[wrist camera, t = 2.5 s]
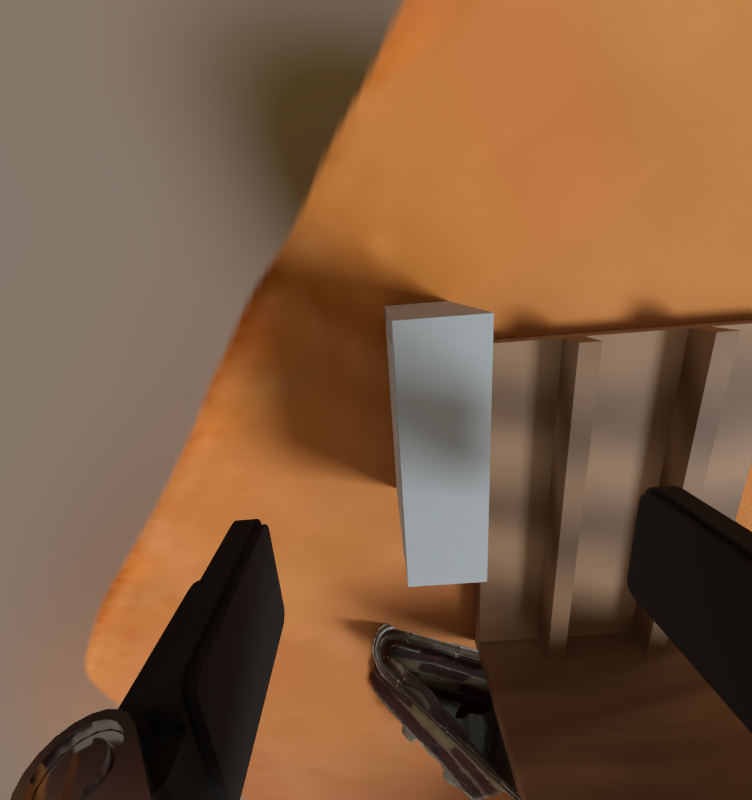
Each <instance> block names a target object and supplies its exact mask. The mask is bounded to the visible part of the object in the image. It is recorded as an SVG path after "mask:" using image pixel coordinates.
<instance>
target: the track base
mask: <svg viewBox="0 0 752 800" xmlns="http://www.w3.org/2000/svg"><path fill="white" fill-rule="evenodd" d="M751 461H752V319H751V320H738V321H725V322H712V323H699V324H687V325H674V326H661V327H648V328H635V329H622V330H609V331H596V332H583V333H570V334H557V335H544V336H531V337H519V338H506V339H493V368H492V408H491V447H490V487H489V526H488V566H487V582H476V604H475V643H476V646H477V650H478V653H479V657H480V660H481V664H482V667H483V671H484V675H485V678H486V682H487V685H488V689H489V692H490V696H491V699H492V703H493V706H494V710H495V713H496V717H497V720H498V724H499V727H500V731H501V734H502V738H503V741H504V745H505V749H506V752H507V756H508V759H509V763H510V766H511V770H512V773H513V777H514V780H515V784H516V787H517V791H518V794H519V798H520V800H752V733H751V732H750V731H749V730H748V729H747V728H746V727H745V725H744V724H743V723H742V722H741V721H740V720H739V718H738V717H737V716H736V715H735V714H734V713H733V712H732V710H731V709H730V708H729V707H728V706H727V705H726V703H725V702H724V701H723V700H722V699H721V698H720V697H719V695H718V694H717V693H716V692H715V691H714V690H713V689H712V687H711V686H710V685H709V684H708V683H707V682H706V680H705V679H704V678H703V677H702V676H701V675H700V674H699V672H698V671H697V670H696V669H695V668H694V667H693V665H692V664H691V663H690V662H689V661H688V660H687V659H686V657H685V656H684V655H683V654H682V653H681V652H680V650H679V649H678V648H677V647H676V646H675V645H674V644H673V642H672V641H671V640H670V639H669V638H668V637H667V635H666V634H665V633H664V632H663V631H662V630H661V629H660V627H659V626H658V625H657V624H656V623H655V622H654V621H653V619H652V618H651V617H650V616H649V615H648V614H647V612H646V611H645V610H644V609H643V608H642V607H641V606H640V604H639V603H638V602H637V601H636V600H635V599H634V597H633V596H632V595H631V593H630V591H629V589H628V585H627V576H628V570H629V563H630V557H631V551H632V544H633V538H634V532H635V525H636V519H637V513H638V506H639V500H640V497H641V496H642V495H643V494H645V491H646V490H647V489H648V488H650V487H658V486H671V485H674V486H679V487H681V488H683V489H684V490H686V491H687V492H689V493H691V494H692V495H694V496H695V497H697V498H698V499H700V500H702V501H703V502H705V503H706V504H708V505H710V506H711V507H713V508H714V509H716V510H718V511H719V512H721V513H722V514H724V515H726V516H727V517H729V518H730V519H732V520H733V521H735V519H736V515H737V511H738V508H739V504H740V501H741V497H742V493H743V490H744V486H745V483H746V479H747V475H748V472H749V468H750V465H751Z"/></svg>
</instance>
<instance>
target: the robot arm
mask: <svg viewBox="0 0 752 800" xmlns="http://www.w3.org/2000/svg"><path fill="white" fill-rule="evenodd" d="M627 585H628V589H629V591H630V593H631V595H632V596H633V597H634V599H635V600H636V601H637V602H638V603H639V604H640V606H641V607H642V608H643V609H644V610H645V611H646V612H647V614H648V615H649V616H650V617H651V618H652V619H653V621H654V622H655V623H656V624H657V625H658V626H659V627H660V629H661V630H662V631H663V632H664V633H665V634H666V635H667V637H668V638H669V639H670V640H671V641H672V642H673V644H674V645H675V646H676V647H677V648H678V649H679V650H680V652H681V653H682V654H683V655H684V656H685V657H686V659H687V660H688V661H689V662H690V663H691V664H692V665H693V667H694V668H695V669H696V670H697V671H698V672H699V674H700V675H701V676H702V677H703V678H704V679H705V680H706V682H707V683H708V684H709V685H710V686H711V687H712V689H713V690H714V691H715V692H716V693H717V694H718V695H719V697H720V698H721V699H722V700H723V701H724V702H725V703H726V705H727V706H728V707H729V708H730V709H731V710H732V712H733V713H734V714H735V715H736V716H737V717H738V718H739V720H740V721H741V722H742V723H743V724H744V725H745V727H746V728H747V729H748V730H749V731H750V732H751V733H752V532H751V531H749V530H748V529H746V528H745V527H743V526H741V525H740V524H738V523H737V522H735V521H733V520H732V519H730V518H729V517H727V516H726V515H724V514H722V513H721V512H719V511H718V510H716V509H714V508H713V507H711V506H710V505H708V504H706V503H705V502H703V501H702V500H700V499H698V498H697V497H695V496H694V495H692V494H691V493H689V492H687V491H686V490H684V489H683V488H681V487H679V486H674V485H671V486H658V487H650V488H648V489H647V490H646V491H645V494H643V495H642V496H641V497H640V500H639V506H638V513H637V519H636V525H635V532H634V538H633V544H632V551H631V557H630V563H629V570H628V576H627ZM283 624H284V605H283V600H282V595H281V589H280V584H279V579H278V574H277V569H276V563H275V558H274V553H273V548H272V543H271V538H270V532H269V528H268V526H267V525H266V524H264V525H261V522H260V520H259V519H251V520H239V521H234V523H233V524H232V525H231V527H230V529H229V531H228V532H227V534H226V536H225V538H224V539H223V541H222V543H221V545H220V546H219V548H218V550H217V552H216V553H215V555H214V557H213V559H212V560H211V562H210V564H209V566H208V567H207V569H206V571H205V573H204V574H203V576H202V578H201V580H200V581H197V582H195V583H194V584H193V585H192V586H191V588H190V589H189V590H188V592H187V594H186V595H185V597H184V599H183V600H182V602H181V604H180V606H179V607H178V609H177V611H176V612H175V614H174V616H173V617H172V619H171V621H170V622H169V624H168V626H167V627H166V629H165V631H164V633H163V634H162V636H161V638H160V639H159V641H158V643H157V644H156V646H155V648H154V649H153V651H152V653H151V654H150V656H149V658H148V660H147V661H146V663H145V665H144V666H143V668H142V670H141V671H140V673H139V675H138V676H137V678H136V680H135V681H134V683H133V685H132V687H131V688H130V690H129V692H128V693H127V695H126V697H125V698H124V700H123V702H122V703H121V705H120V707H119V708H118V709H106V710H102V711H99V712H96V713H93V714H90V715H88V716H86V717H84V718H83V719H81V720H79V721H77V722H75V723H74V724H72V725H71V726H69V727H68V728H67V729H65V730H64V731H63V732H61V733H60V734H59V735H57V736H56V737H55V738H54V739H53V740H52V741H51V742H50V743H49V744H48V745H47V746H46V747H45V748H44V749H43V750H42V751H41V752H40V753H39V754H38V755H37V756H36V757H35V759H34V760H33V761H32V763H31V764H30V765H29V767H28V768H27V769H26V770H25V772H24V773H23V774H22V776H21V778H20V780H19V782H18V784H17V786H16V787H15V789H14V791H13V793H12V796H11V800H240V797H241V794H242V790H243V786H244V782H245V778H246V774H247V770H248V766H249V762H250V758H251V753H252V749H253V745H254V741H255V737H256V733H257V729H258V725H259V721H260V717H261V713H262V709H263V705H264V701H265V697H266V693H267V689H268V685H269V681H270V677H271V673H272V669H273V665H274V661H275V657H276V653H277V649H278V645H279V641H280V637H281V633H282V629H283Z"/></svg>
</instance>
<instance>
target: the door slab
mask: <svg viewBox="0 0 752 800" xmlns="http://www.w3.org/2000/svg"><path fill="white" fill-rule="evenodd" d="M385 317H386V337H387V352H388V367H389V382H390V397H391V412H392V427H393V442H394V457H395V472H396V487H397V496H398V505H399V514H400V523H401V531H402V540H403V549H404V555H405V563H406V571H407V580H408V587H416V586H431V585H446V584H461V583H476V582H487V566H488V526H489V487H490V447H491V408H492V368H493V328H494V313H492V312H489V311H485V310H481V309H477V308H473V307H469V306H465V305H461V304H458V303H454V302H450V301H440V302H428V303H415V304H402V305H390V306H385Z"/></svg>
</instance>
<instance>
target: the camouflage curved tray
mask: <svg viewBox="0 0 752 800" xmlns="http://www.w3.org/2000/svg"><path fill="white" fill-rule="evenodd" d="M372 652H373V654H374V660H375V663H376V668H375V669H374V672H372V673H371V675H370V679H371V682H372V684H373V690H374V692H375V693H376V694H377V696H378V697H379V698H380V700H381V701H382V702H383V704H384V705H385V706H386V707H387V708H388V709H389V711H390V712H391V713H392V714H393V715H394V716H395V717H396V718H397V719H398V720H399V721H400V723H401V724H402V725H403V727H402V733H403V735H404V736H405V737H406V738H407V739H408V740H409V741H411V742H414V741H415V740H418V741H419V742H421V743H422V745H423V746H424V748H425V749H426V750H427V751H428V753H429V754H430V755H431V756H432V757H433V758H435V759H436V760H437V761H438V762H439V763H440V764H441V766H442V767H443V770H444V772H443V777H444V779H445V781H446V782H447V783H449V784H451V785H453V786H456V787H457V788H459V789H460V790H461V791H463V792H464V793H465V794H466V795H467V796H468V797H469V798H470V799H472V800H480V799H484V798H488V797H490V796H493V795H496V794H499V793H501V792H505V791H506V792H507V793H508V794H509V795H510V797H512V798H513V799H515V800H520V798H519V794H518V791H517V787H516V784H515V780H514V777H513V773H512V770H511V766H510V763H509V759H508V756H507V752H506V749H505V745H504V741H503V738H502V734H501V731H500V727H499V724H498V720H497V717H496V713H495V710H494V706H493V703H492V699H491V696H490V692H489V689H488V685H487V682H486V678H485V675H484V671H483V667H482V664H481V660H480V657H479V653H478V650H474V649H469V648H468V647H463V646H462V645H458V644H452V643H445V642H440V641H438V640H435V639H432V638H427V637H423V636H419V635H416V634H414V633H408V632H405V631H400V630H397V629H394V628H393V627H392V626H391V625H389V624H385V625H383V626H382V627H381V628H379V630H378V633H377V636H376V638H374V643H373V648H372ZM467 704H468V705H472V706H478V707H483V708H485V713H484V714H483V715H476V714H468V715H467V716H466V717H464V718H456V713H457V711H458V710H459V708H460V706H461V705H467Z"/></svg>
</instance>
